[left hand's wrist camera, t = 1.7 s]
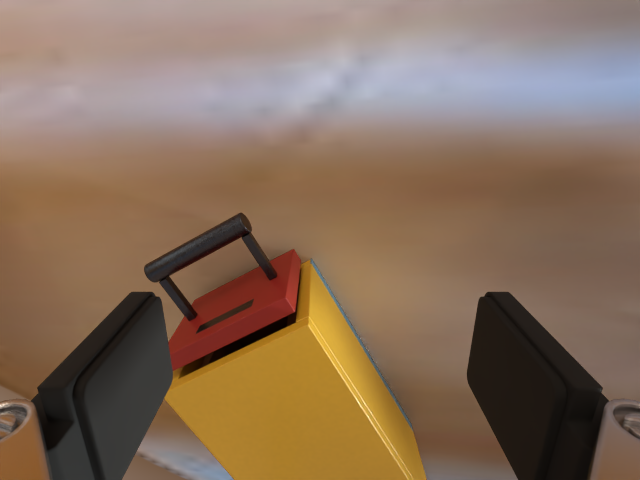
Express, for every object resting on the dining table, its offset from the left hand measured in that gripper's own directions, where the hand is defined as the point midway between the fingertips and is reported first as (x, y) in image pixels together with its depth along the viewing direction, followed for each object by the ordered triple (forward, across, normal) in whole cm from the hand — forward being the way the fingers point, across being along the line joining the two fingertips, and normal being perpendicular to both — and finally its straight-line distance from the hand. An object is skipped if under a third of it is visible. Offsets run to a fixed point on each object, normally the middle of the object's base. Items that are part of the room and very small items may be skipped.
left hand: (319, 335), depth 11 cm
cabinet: (+20, -1, -18) cm, 26 cm away
